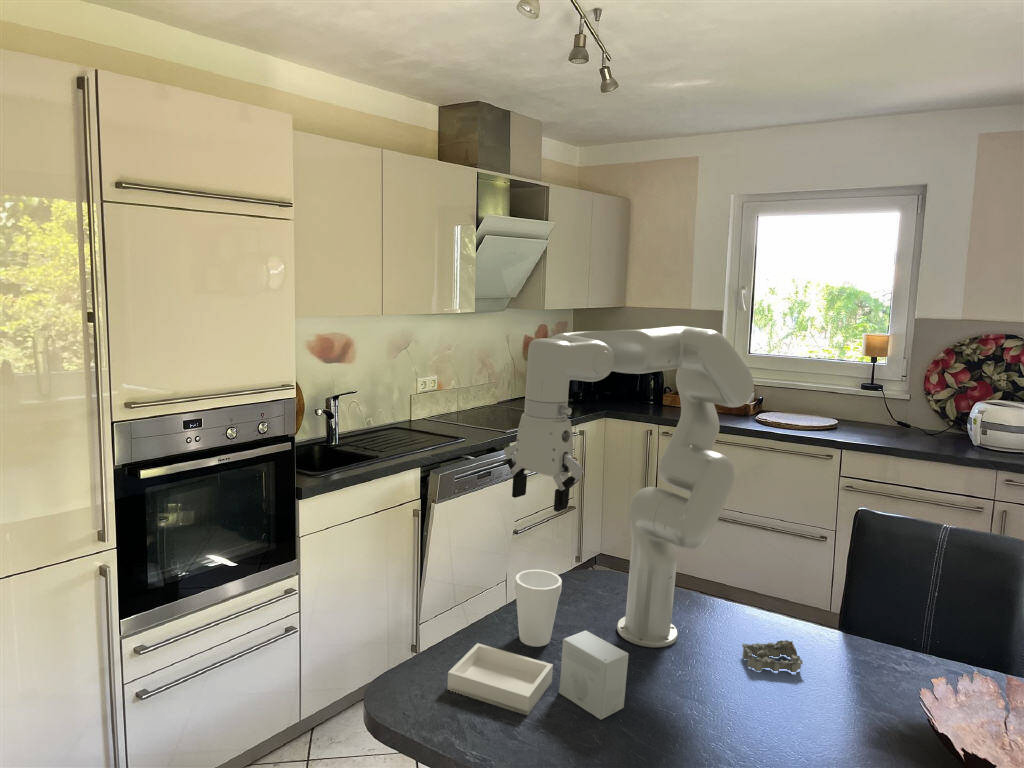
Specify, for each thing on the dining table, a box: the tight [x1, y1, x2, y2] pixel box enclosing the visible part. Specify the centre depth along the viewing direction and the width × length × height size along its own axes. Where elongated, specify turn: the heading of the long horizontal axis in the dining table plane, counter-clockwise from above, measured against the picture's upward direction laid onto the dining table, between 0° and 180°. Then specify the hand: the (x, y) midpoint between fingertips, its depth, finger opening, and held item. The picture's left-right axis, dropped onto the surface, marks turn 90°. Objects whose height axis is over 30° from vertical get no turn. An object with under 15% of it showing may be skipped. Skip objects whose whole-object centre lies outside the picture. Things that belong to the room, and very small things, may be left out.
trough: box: [447, 642, 554, 716], centre depth 134 cm, size 12×16×4 cm
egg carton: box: [741, 639, 804, 673], centre depth 146 cm, size 11×8×4 cm
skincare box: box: [558, 630, 630, 720], centre depth 131 cm, size 10×6×10 cm, turn 42°
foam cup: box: [514, 569, 563, 648], centre depth 151 cm, size 10×9×13 cm
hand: (539, 502), depth 132 cm, fingers open, 9 cm apart
